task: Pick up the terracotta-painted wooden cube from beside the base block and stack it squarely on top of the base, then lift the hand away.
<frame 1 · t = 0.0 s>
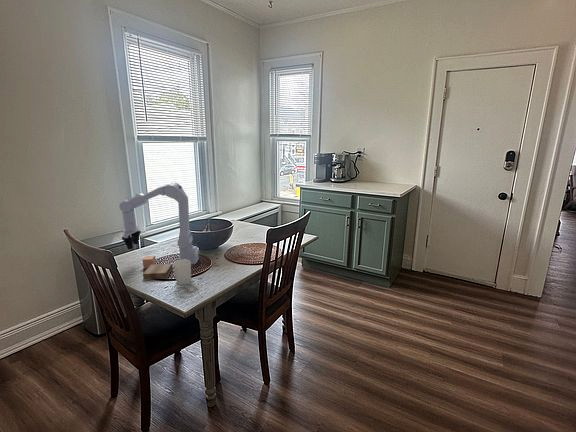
hand: (133, 246, 172), 10 cm above the table, tool pointing down, fingers open, 7 cm apart
base: (158, 274, 161), on the table
white cup: (183, 282, 152), on the table
cube: (150, 266, 171), on the table
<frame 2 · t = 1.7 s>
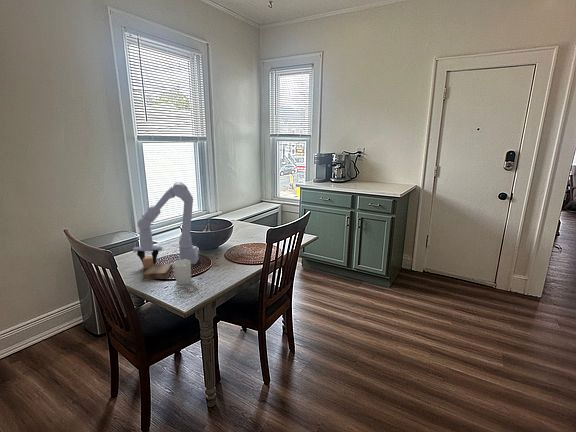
hand: (149, 263, 171), 1 cm above the table, tool pointing down, fingers closed on cube, 5 cm apart
cube: (149, 266, 171), on the table, touching gripper
everything else where it was.
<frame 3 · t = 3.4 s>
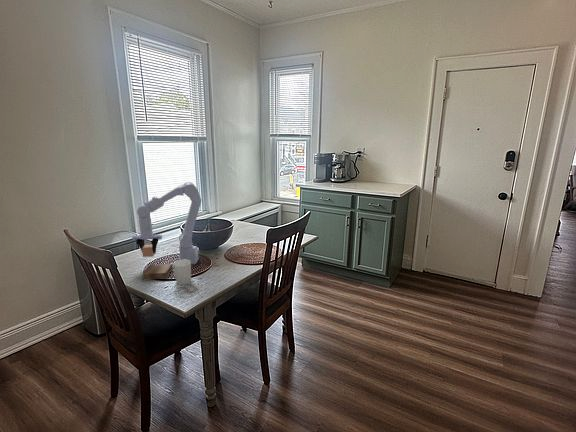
hand: (149, 252, 168), 8 cm above the table, tool pointing down, fingers closed on cube, 5 cm apart
cube: (149, 254, 168), point 7 cm above the table, touching gripper
everything else where it was.
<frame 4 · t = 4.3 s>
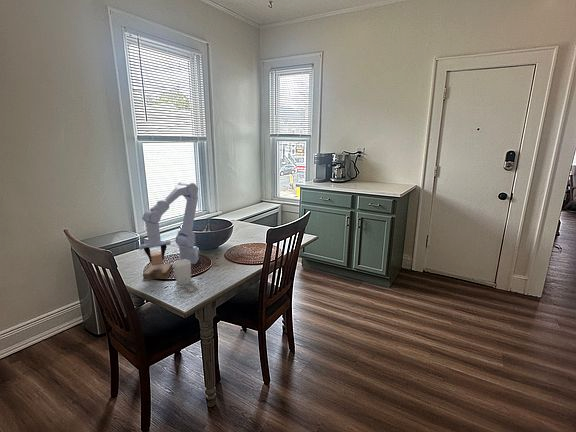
hand: (156, 260, 159), 7 cm above the table, tool pointing down, fingers closed on cube, 5 cm apart
cube: (157, 263, 160), point 6 cm above the table, touching gripper
everything else where it was.
when the fingers open (6 cm above the table, at t = 5.0 s): cube drops 1 cm, resting on base.
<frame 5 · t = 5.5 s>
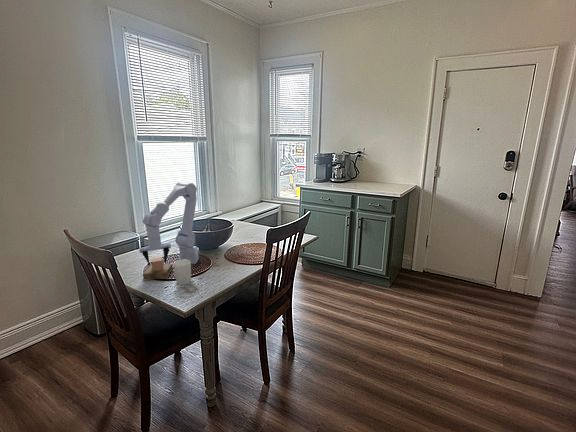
hand: (157, 263, 160), 6 cm above the table, tool pointing down, fingers open, 7 cm apart
cube: (157, 268, 160), point 3 cm above the table, touching base
everything else where it was.
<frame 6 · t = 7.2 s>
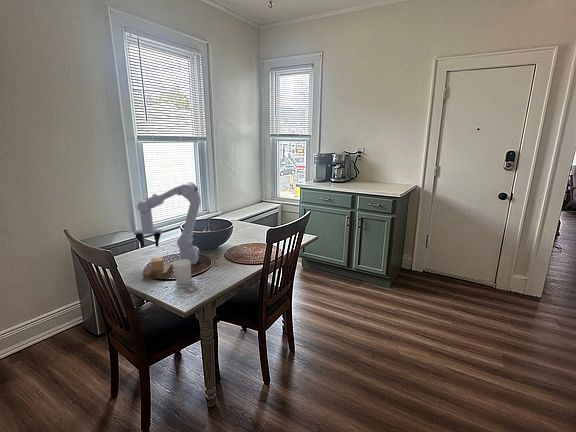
hand: (150, 246, 174), 9 cm above the table, tool pointing down, fingers open, 7 cm apart
nothing on the table moved.
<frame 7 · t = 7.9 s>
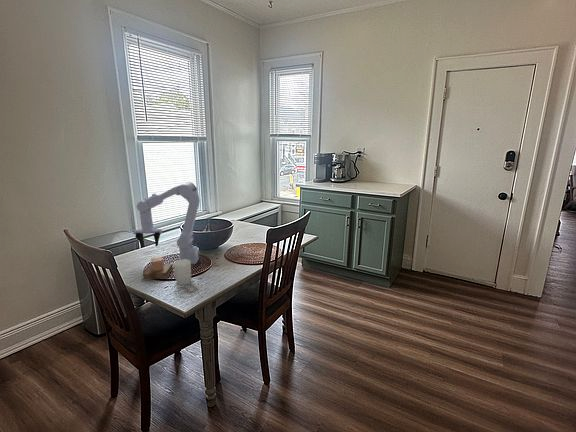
hand: (149, 245, 174), 9 cm above the table, tool pointing down, fingers open, 7 cm apart
nothing on the table moved.
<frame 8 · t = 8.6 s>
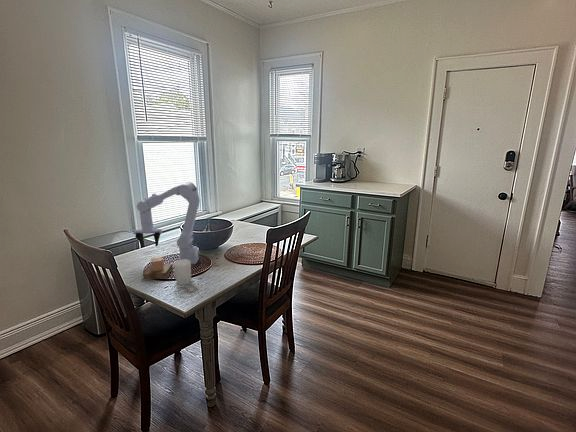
hand: (149, 245, 174), 9 cm above the table, tool pointing down, fingers open, 7 cm apart
nothing on the table moved.
at the end: cube inside the target area on the base (0.1 cm from its centre), point 3.0 cm above the base's base; cube touching base; cube tilted 0° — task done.
